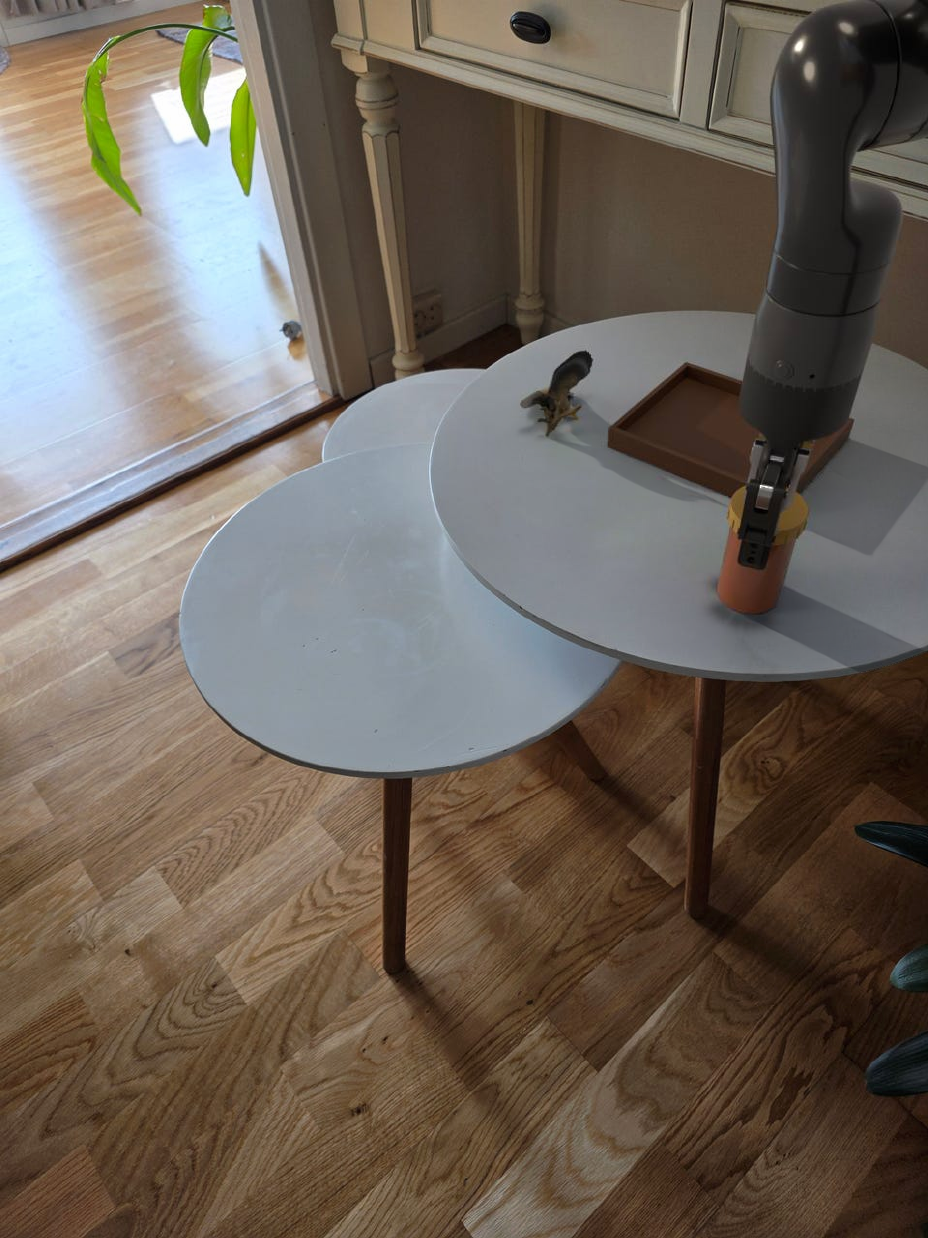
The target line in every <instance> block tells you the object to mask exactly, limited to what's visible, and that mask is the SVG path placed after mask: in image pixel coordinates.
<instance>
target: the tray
mask: <svg viewBox="0 0 928 1238" xmlns="http://www.w3.org/2000/svg"><path fill="white" fill-rule="evenodd" d="M742 381H743V380H740V379H737V378H735V377H731V376H728V375H726V374H723V373H720V372H717V371H714V370H711V369H708V368H705V367H702V366H700V365H697V364H693V363H690V362H687V361H685V362H684V363H682V365H680V366H679V367H678V368H677V369H676V370H674V371H673V372H672V373H671V374H670V375H669V376H667V377H665V379H664V380H663V381H662V382H661V383H659V384H658V385H657V386H656V387H655V388H653V389H652V390H651V391H650V392H648V393H647V394H646V395H645V396H644V397H643V398H642V399H641V400H639V401H638V402H637V403H636V404H635V405H633V406H632V407H631V408H630V409H629V410H627V412H626V413H624V414H623V415H622V416H621V417H620V418H618V419H617V420H616V421H615V422H614V423H612V425H610V426H609V427H608V429H607V443H606V445H607V447H609V448H611V449H613V450H616V451H618V452H620V453H623V454H625V455H627V456H629V457H633V458H635V459H637V460H640V461H642V462H644V463H646V464H649V465H652V466H654V467H657V468H659V469H661V470H663V471H666V472H669V473H671V474H674V475H675V476H679V477H681V478H683V479H685V480H688V481H691V482H693V483H696V484H698V485H700V486H701V487H702V486H703V487H705V488H708V489H710V490H712V491H714V492H717V493H720V494H723V495H724V496H727V497H729V498H730V499H731V498H732V496H733V495H734V493H735V492H736V491H737V490H739V489H740V488H742V487H744V486H746V485H747V481H748V477H749V473H750V470H751V466H752V464H751V462H750V456H751V452H752V448H753V445H754V442H755V439H756V438H757V439H759V433H760V432H759V431H758V430H757V429H755V428H753V427H752V426H751V425H750V424H748V423H747V422H746V420H745V419H744V418H743V416H742V414H741V412H740V409H739V397H740V392H741V387H742ZM854 422H855V419H854V418H853V417H849V419H848V421H847V422H846V424H845V425H844V426H843V427H842V428H841V429H840V430H839V431H837V432H836V433H834V434H832V435H830V436H827V437H825V438H821V439H817V440H815V442H814V445H813V449H812V451H811V453H810V456H809V460H808V463H807V466H806V469H805V471H804V472H803V473H802V474H800V478H799V481H798V485H797V488H796V492H797V493H798V494H800V495H801V493H802V492H803V490H805V488H806V487H807V486H808V485H809V484H810V483H811V482H812V480H813V479H814V478H815V477H816V476H817V475H818V473H819V472H820V471H821V470H822V469H823V468H824V466H825V465H826V464H827V463H828V462H829V461H830V460H831V459H832V457H833V456H834V455H835V454H836V453H837V452H838V451H839V450H840V448H842V446H843V445H844V444H845V443H846V442H847V440H848V439H849V438H850V436H851V432H852V429H853V426H854ZM758 476H759V472H758ZM758 476H757V479H756V480H759V478H758ZM790 480H791V479H790Z"/></svg>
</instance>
